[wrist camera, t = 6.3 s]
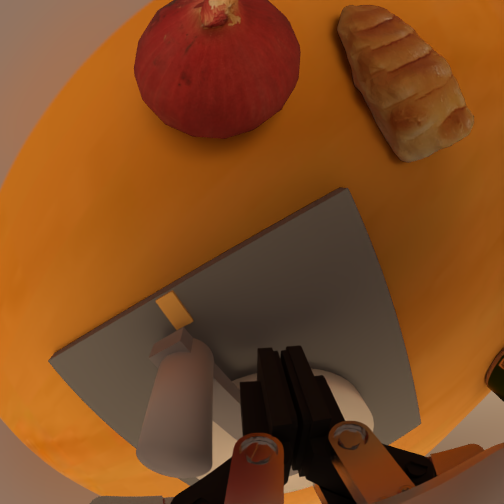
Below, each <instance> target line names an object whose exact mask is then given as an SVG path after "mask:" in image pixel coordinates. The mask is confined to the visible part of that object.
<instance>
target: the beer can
mask: <svg viewBox="0 0 504 504" xmlns="http://www.w3.org/2000/svg"><path fill="white" fill-rule="evenodd" d="M486 384H487V386H488V388H490V389H491V390H492V391H493V392H494V393H495V394H496V395H497V396H498V397H499V398H500V399H502V401H504V349H503V350H502V351H501V352H500V353H499V354H498V355H497V356H496V358H495V359H494V361H493V362H492V364H491V366H490V368H489V370H488V372H487V375H486Z"/></svg>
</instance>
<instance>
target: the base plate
mask: <svg viewBox="0 0 504 504" xmlns="http://www.w3.org/2000/svg"><path fill="white" fill-rule="evenodd" d="M182 327H184V328H185V329H186V330H187V331H188V332H189V334H190V335H191V336H192V337H193V338H195V339H198V340H200V341H202V342H203V343H205V344H206V345H207V346H208V347H209V348H210V350H211V351H212V353H213V357H214V363H215V364H216V365H217V366H218V367H219V368H220V369H221V370H222V371H223V372H224V374H225V375H226V376H227V377H228V378H229V379H230V380H231V381H234V380H236V379H239V378H242V377H245V376H248V375H251V374H255V373H257V349H258V348H270V347H272V349H273V351H278V353H279V356H281V350H286V347H287V346H298V345H300V346H301V347H302V349H303V351H304V353H305V356H306V358H307V360H308V363H309V365H310V367H311V369H319V370H323V371H327V372H331V373H334V374H336V375H339V376H341V377H343V378H344V379H346V380H348V381H349V382H350V383H351V384H352V385H353V386H354V387H355V388H356V389H357V391H358V392H359V394H360V395H361V397H362V399H363V400H364V402H365V403H366V405H367V407H368V408H369V410H370V412H371V414H372V416H373V421H374V428H373V433H374V434H375V436H376V437H377V438H378V439H379V441H380V442H381V443H382V444H385V445H389V444H391V443H392V442H394V441H396V440H397V439H399V438H400V437H402V436H404V435H405V434H407V433H408V432H410V431H411V430H413V429H414V428H415V427H417V426H418V425H420V424H421V420H420V413H419V408H418V402H417V397H416V392H415V387H414V382H413V377H412V373H411V368H410V364H409V360H408V356H407V352H406V348H405V344H404V340H403V337H402V333H401V329H400V326H399V322H398V319H397V316H396V312H395V309H394V306H393V303H392V299H391V296H390V293H389V290H388V287H387V284H386V281H385V278H384V275H383V273H382V270H381V267H380V264H379V262H378V259H377V256H376V253H375V251H374V248H373V246H372V243H371V241H370V238H369V235H368V233H367V231H366V228H365V226H364V223H363V221H362V218H361V216H360V214H359V211H358V209H357V207H356V205H355V202H354V200H353V198H352V196H351V193H350V191H349V189H348V188H341V187H340V188H338V189H336V190H334V191H333V192H331V193H329V194H327V195H325V196H324V197H322V198H320V199H318V200H316V201H315V202H313V203H311V204H309V205H307V206H306V207H304V208H302V209H300V210H298V211H297V212H295V213H293V214H291V215H290V216H288V217H286V218H284V219H282V220H281V221H279V222H277V223H275V224H274V225H272V226H270V227H268V228H266V229H265V230H263V231H261V232H259V233H258V234H256V235H254V236H252V237H251V238H249V239H247V240H245V241H244V242H242V243H240V244H238V245H237V246H235V247H233V248H231V249H230V250H228V251H226V252H224V253H223V254H221V255H219V256H217V257H216V258H214V259H212V260H211V261H209V262H207V263H205V264H204V265H202V266H200V267H198V268H197V269H195V270H193V271H192V272H190V273H188V274H186V275H185V276H183V277H181V278H180V279H178V280H176V281H174V282H173V283H171V284H169V285H168V286H166V287H164V288H162V289H161V290H159V291H157V292H156V293H154V294H152V295H151V296H149V297H147V298H145V299H144V300H142V301H140V302H139V303H137V304H135V305H134V306H132V307H130V308H129V309H127V310H125V311H123V312H122V313H120V314H118V315H117V316H115V317H113V318H112V319H110V320H108V321H107V322H105V323H103V324H102V325H100V326H98V327H97V328H95V329H93V330H92V331H90V332H88V333H87V334H85V335H83V336H82V337H80V338H79V339H77V340H75V341H74V342H72V343H70V344H69V345H67V346H65V347H64V348H62V349H60V350H59V351H57V352H56V353H54V354H53V356H52V357H51V358H50V359H49V360H48V362H49V363H50V364H51V365H52V367H53V368H54V369H55V370H56V371H57V373H58V374H59V375H60V376H61V377H62V378H63V380H64V381H65V382H66V383H67V384H68V385H69V386H70V387H71V388H72V390H73V391H74V392H75V393H76V394H77V395H78V396H79V397H80V398H81V399H82V400H83V401H84V402H85V403H86V404H87V405H88V406H89V407H90V408H91V409H92V410H93V411H94V412H95V413H96V414H97V415H98V416H99V417H100V418H101V419H102V420H103V421H104V422H106V423H107V424H108V425H109V426H110V427H111V428H112V429H113V430H114V431H116V432H117V433H118V434H119V435H120V436H121V437H123V438H124V439H125V440H126V441H127V442H129V443H130V444H131V445H132V446H134V447H135V448H136V449H137V446H138V442H139V438H140V434H141V430H142V426H143V422H144V418H145V415H146V411H147V407H148V404H149V400H150V396H151V393H152V389H153V386H154V383H155V379H156V376H157V372H158V368H157V367H156V366H155V365H154V364H153V363H152V362H151V360H150V359H149V356H150V353H151V350H152V348H153V345H154V344H155V343H156V342H158V341H160V340H162V339H163V338H165V337H167V336H169V335H170V334H172V333H174V332H175V331H177V330H179V329H181V328H182ZM179 479H180V480H182V481H183V482H185V483H187V484H188V485H190V486H191V485H193V484H194V483H196V482H197V481H199V479H198V478H196V477H194V478H179Z"/></svg>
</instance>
